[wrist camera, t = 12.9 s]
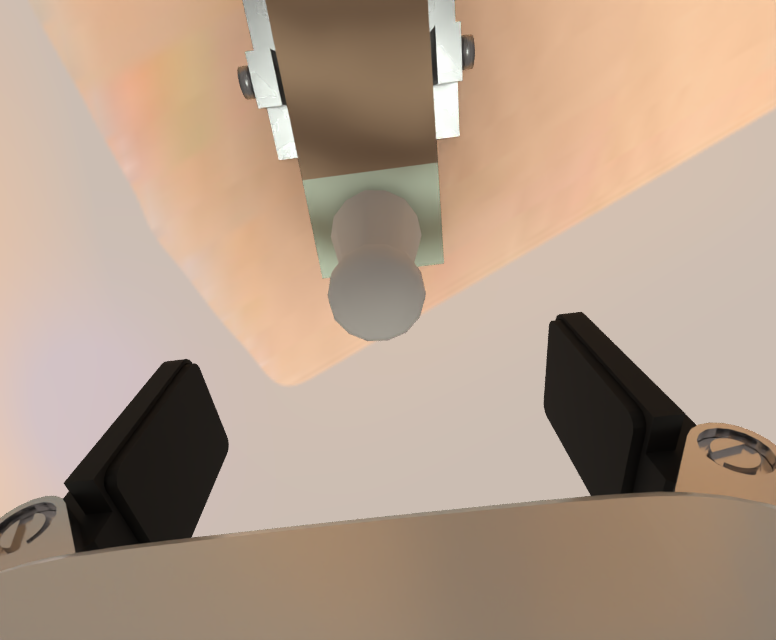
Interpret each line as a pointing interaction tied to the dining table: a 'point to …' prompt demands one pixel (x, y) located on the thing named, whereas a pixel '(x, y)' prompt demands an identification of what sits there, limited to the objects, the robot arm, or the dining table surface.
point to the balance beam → (361, 109)
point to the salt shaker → (376, 266)
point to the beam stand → (267, 86)
